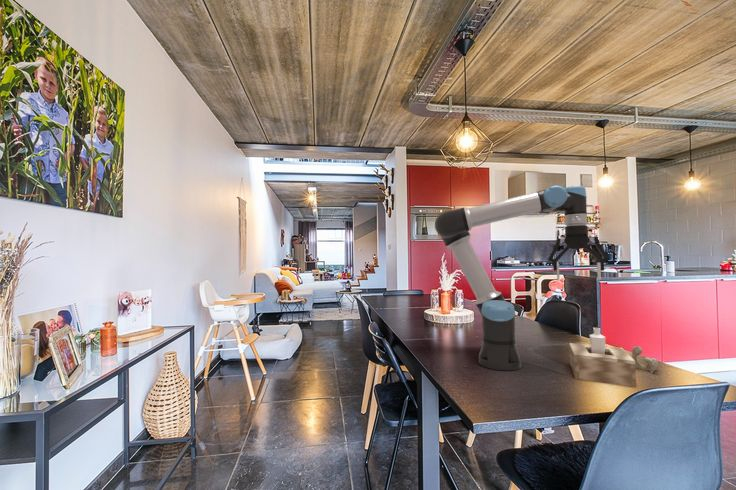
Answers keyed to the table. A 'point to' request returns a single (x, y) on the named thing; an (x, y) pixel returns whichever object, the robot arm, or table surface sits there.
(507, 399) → the table surface
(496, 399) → the table surface
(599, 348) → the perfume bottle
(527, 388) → the table surface
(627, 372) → the holder box
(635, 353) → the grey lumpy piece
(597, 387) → the table surface
